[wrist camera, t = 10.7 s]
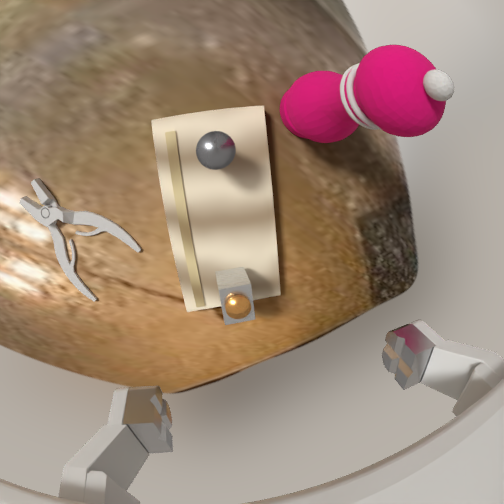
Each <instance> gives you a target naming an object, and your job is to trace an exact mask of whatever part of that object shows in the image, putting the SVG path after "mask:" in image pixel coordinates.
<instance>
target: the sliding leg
mask: <svg viewBox="0 0 504 504" xmlns="http://www.w3.org/2000/svg"><path fill="white" fill-rule="evenodd" d="M215 274H216V279H217V285H218V290H219V296H220V301H221V307H222V312H223V317H224V322H225V325H228V324H233V323H239V322H244V321H249V320H254V319H255V313H254V305H253V296H252V288H251V283H250V280H249V278H248V276H247V273H246V271H245V269H244V267H239V268H233V269H227V270H221V271H216V272H215Z"/></svg>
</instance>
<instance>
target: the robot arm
mask: <svg viewBox="0 0 504 504" xmlns="http://www.w3.org/2000/svg"><path fill="white" fill-rule="evenodd" d="M385 341H386V342H387V345H386V346H385V348H384V349H383V354H382V358H383V363H384V365H385V367H386V369H387V370H388V371H389V372H392V373H394V374H395V380H396V381H397V382H398V384H399V385H400V386H401V387H402V388H403V390H405V389H407V388H409V387H411V386H413V385H415V384H417V383H420V382H421V383H422V384H424V385H426V386H428V387H430V388H432V389H435V390H437V391H439V392H441V393H443V394H445V395H448V396H450V397H452V398H454V399H456V400H458V401H457V403H456V404H455V406H454V408H453V413H454V414H455V415H456V417H455V418H454V419H452V420H451V421H449V422H448V423H446V424H445V425H443V426H442V427H440V428H439V429H437V430H436V431H434V432H432V433H431V434H429V435H428V436H426V437H424V438H422V439H421V440H419V441H417V442H416V443H414V444H412V445H410V446H409V447H407V448H405V449H403V450H401V451H399V452H397V453H395V454H394V455H392V456H389V457H387V458H385V459H383V460H381V461H379V462H377V463H375V464H372V465H371V466H368V467H366V468H363V469H361V470H359V471H356V472H354V473H351V474H349V475H346V476H344V477H341V478H338V479H335V480H333V481H330V482H327V483H324V484H321V485H318V486H315V487H311V488H308V489H305V490H301V491H298V492H294V493H290V494H286V495H282V496H278V497H274V498H270V499H264V500H260V501H254V502H249V503H243V504H504V359H502V358H501V357H500V356H499V355H498V354H497V353H496V352H493V351H490V350H486V349H482V348H478V347H474V346H470V345H467V344H463V343H459V342H456V341H452V340H446V341H445V340H444V339H443V338H442V337H441V336H440V335H439V334H438V333H436V332H435V331H434V330H433V329H432V328H431V327H430V326H428V325H427V324H426V323H425V322H424V321H422V320H416V321H414V322H412V323H409V324H407V325H404V326H402V327H399V328H397V329H394V330H392V331H389V332H388V333H387V335H386V339H385ZM171 427H172V417H171V411H170V408H169V405H168V403H167V401H166V400H164V399H162V391H161V389H160V387H159V386H145V387H130V388H116V390H115V391H114V394H113V400H112V404H111V409H110V414H109V419H108V425H103V426H102V427H101V428H100V429H99V430H98V431H97V432H96V434H94V436H92V438H91V439H90V440H89V441H88V442H87V443H86V444H85V445H84V446H83V447H82V448H81V449H80V450H79V451H78V452H77V453H76V454H75V455H74V456H73V457H72V458H71V459H70V460H69V461H68V462H67V463H66V464H65V465H64V469H63V474H62V480H61V485H60V492H59V497H55V496H51V495H48V494H44V493H41V492H37V491H34V490H30V489H27V488H24V487H21V486H18V485H16V484H13V483H10V482H8V481H5V480H3V479H0V504H140V501H138V500H137V499H136V498H135V497H134V496H132V495H131V494H130V493H128V492H127V489H128V487H129V486H130V484H131V483H132V481H133V480H134V478H135V477H136V475H137V474H138V472H139V470H140V469H141V467H142V466H143V464H144V462H145V461H146V459H147V458H148V456H149V453H163V452H172V451H173V445H172V435H171V433H170V431H169V429H170V428H171Z"/></svg>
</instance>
